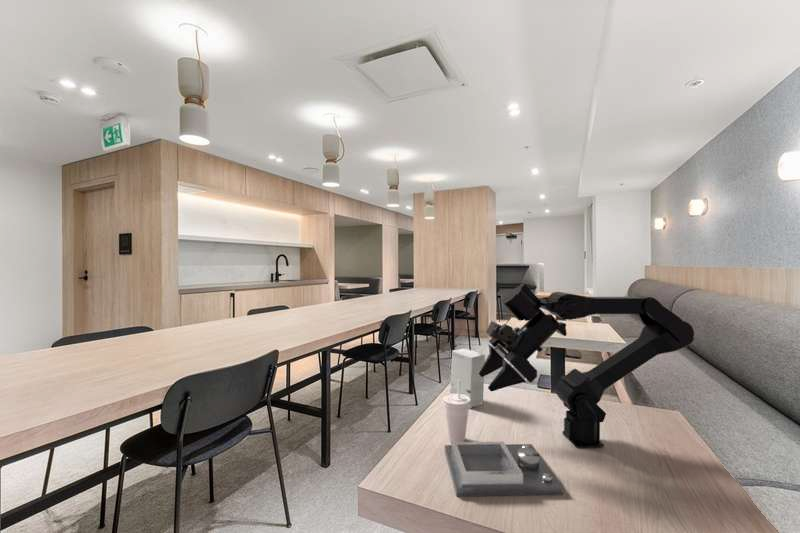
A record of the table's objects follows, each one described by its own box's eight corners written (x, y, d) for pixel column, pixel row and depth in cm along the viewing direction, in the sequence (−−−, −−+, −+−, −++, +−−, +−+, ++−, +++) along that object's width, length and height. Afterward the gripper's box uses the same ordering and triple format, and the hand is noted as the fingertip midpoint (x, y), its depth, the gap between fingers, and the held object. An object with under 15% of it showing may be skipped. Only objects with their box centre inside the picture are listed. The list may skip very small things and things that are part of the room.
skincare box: (449, 400, 102) (449, 350, 102) (463, 395, 106) (463, 347, 106) (471, 409, 96) (471, 356, 95) (485, 404, 99) (485, 353, 99)
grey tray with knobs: (531, 450, 75) (531, 435, 75) (563, 494, 61) (563, 475, 61) (444, 452, 75) (444, 436, 75) (456, 496, 61) (456, 476, 61)
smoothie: (470, 448, 76) (470, 385, 76) (441, 445, 77) (441, 383, 77) (470, 434, 82) (470, 376, 82) (443, 431, 84) (443, 374, 83)
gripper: (497, 304, 88) (454, 347, 89) (522, 316, 70) (467, 370, 70) (527, 335, 88) (484, 377, 89) (560, 355, 70) (505, 409, 70)
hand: (484, 382), depth 79 cm, fingers open, 9 cm apart
